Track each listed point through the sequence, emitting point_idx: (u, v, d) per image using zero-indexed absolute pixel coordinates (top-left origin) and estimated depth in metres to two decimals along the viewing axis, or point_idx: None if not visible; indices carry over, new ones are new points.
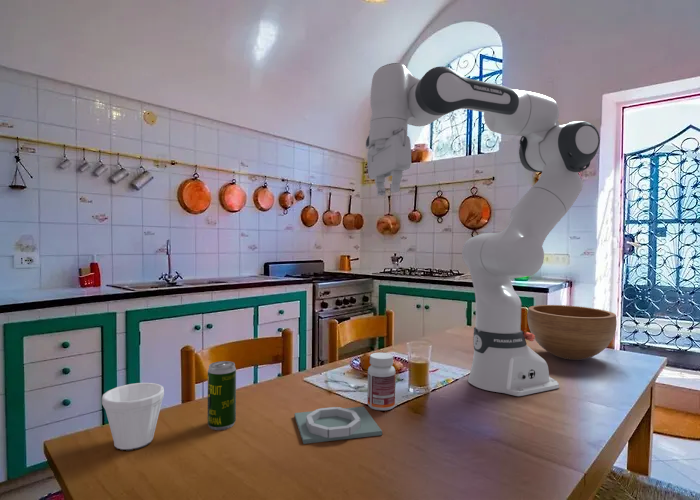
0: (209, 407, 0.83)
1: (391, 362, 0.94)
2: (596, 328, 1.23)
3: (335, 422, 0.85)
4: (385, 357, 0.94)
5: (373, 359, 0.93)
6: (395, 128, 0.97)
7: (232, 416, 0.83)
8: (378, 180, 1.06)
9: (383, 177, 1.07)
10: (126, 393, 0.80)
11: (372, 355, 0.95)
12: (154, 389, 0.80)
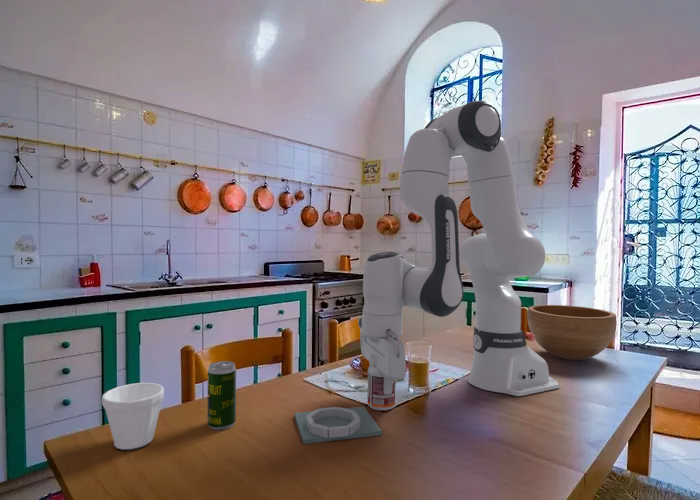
0: (209, 407, 0.83)
1: None
2: (596, 328, 1.23)
3: (335, 422, 0.85)
4: None
5: (373, 359, 0.93)
6: (389, 327, 0.91)
7: (232, 416, 0.83)
8: None
9: None
10: (126, 393, 0.80)
11: (372, 355, 0.95)
12: (154, 389, 0.80)
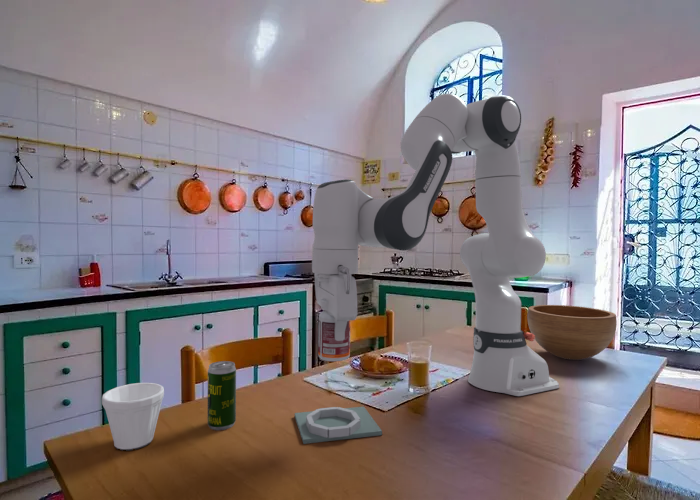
0: (209, 407, 0.83)
1: None
2: (596, 328, 1.23)
3: (335, 422, 0.85)
4: None
5: (324, 303, 0.81)
6: (340, 262, 0.78)
7: (232, 416, 0.83)
8: None
9: None
10: (126, 393, 0.80)
11: (324, 299, 0.82)
12: (154, 389, 0.80)
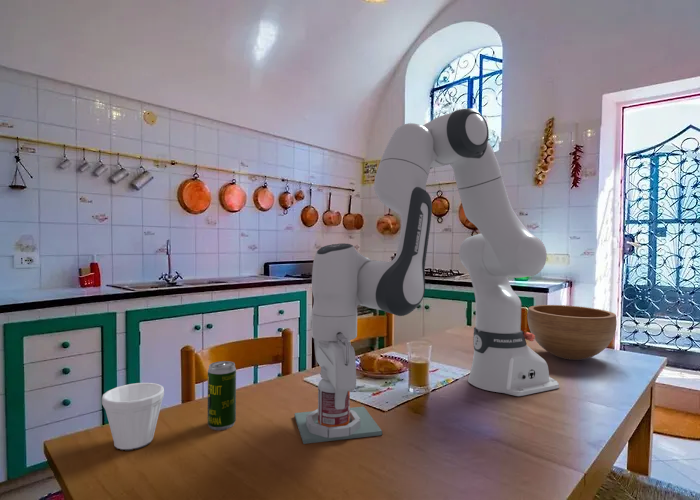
0: (209, 407, 0.83)
1: None
2: (596, 328, 1.23)
3: None
4: None
5: (323, 372, 0.81)
6: (339, 329, 0.78)
7: (232, 416, 0.83)
8: None
9: None
10: (126, 393, 0.80)
11: (323, 367, 0.83)
12: (154, 389, 0.80)
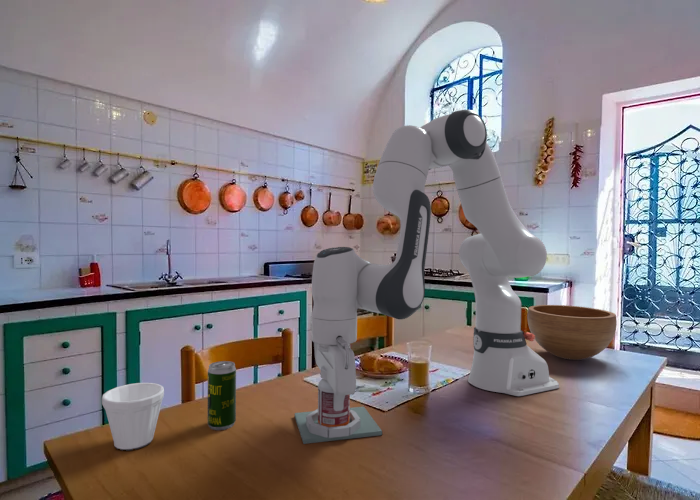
0: (209, 407, 0.83)
1: None
2: (596, 328, 1.23)
3: None
4: None
5: (323, 372, 0.81)
6: (339, 333, 0.79)
7: (232, 416, 0.83)
8: None
9: None
10: (126, 393, 0.80)
11: (323, 367, 0.83)
12: (154, 389, 0.80)
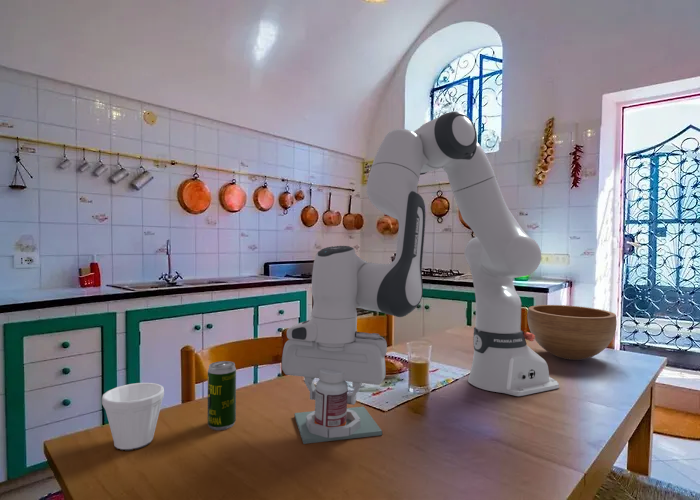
0: (209, 407, 0.83)
1: None
2: (596, 328, 1.23)
3: None
4: None
5: (328, 375, 0.79)
6: (356, 328, 0.81)
7: (232, 416, 0.83)
8: (311, 380, 0.83)
9: None
10: (126, 393, 0.80)
11: (323, 370, 0.81)
12: (154, 389, 0.80)
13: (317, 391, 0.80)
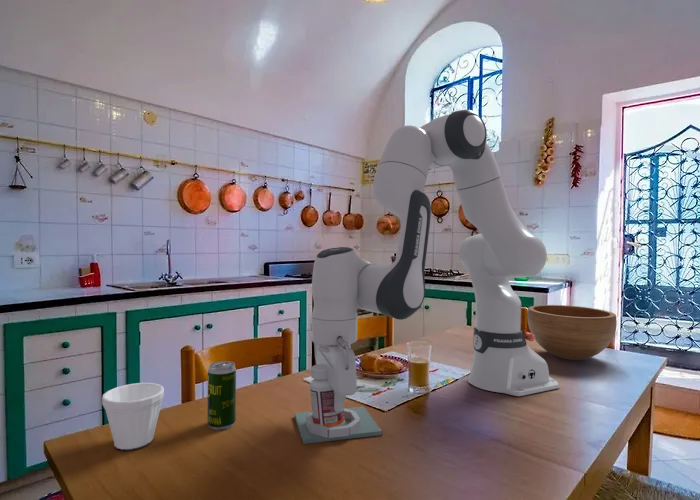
0: (209, 407, 0.83)
1: None
2: (596, 328, 1.23)
3: None
4: None
5: (319, 372, 0.80)
6: (340, 333, 0.78)
7: (232, 416, 0.83)
8: None
9: None
10: (126, 393, 0.80)
11: (314, 368, 0.82)
12: (154, 389, 0.80)
13: (311, 390, 0.81)
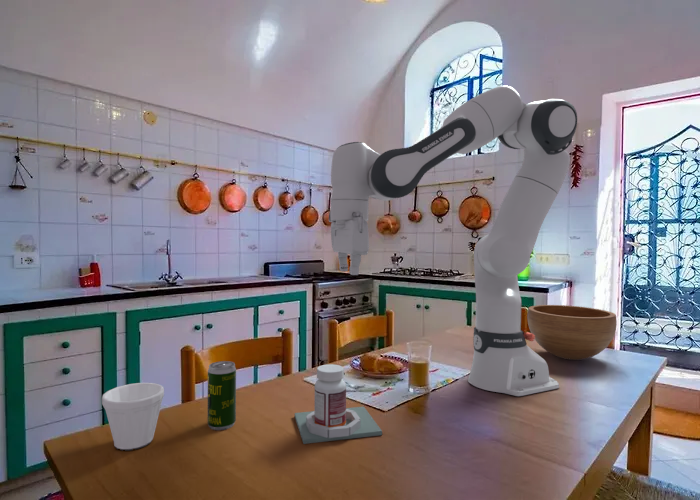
0: (209, 407, 0.83)
1: (343, 373, 0.83)
2: (596, 328, 1.23)
3: None
4: (338, 368, 0.82)
5: (329, 374, 0.80)
6: (354, 210, 0.95)
7: (232, 416, 0.83)
8: (341, 255, 1.04)
9: None
10: (126, 393, 0.80)
11: (322, 370, 0.81)
12: (154, 389, 0.80)
13: (317, 391, 0.81)
